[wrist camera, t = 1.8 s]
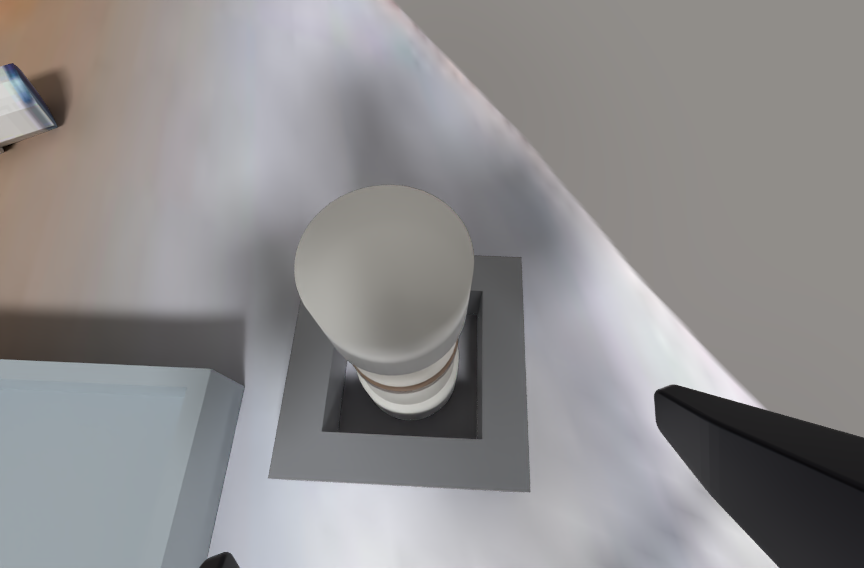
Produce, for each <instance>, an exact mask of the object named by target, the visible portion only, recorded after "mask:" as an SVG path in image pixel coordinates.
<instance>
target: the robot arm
mask: <svg viewBox="0 0 864 568" xmlns="http://www.w3.org/2000/svg"><path fill="white" fill-rule="evenodd" d="M654 402H655V415H656V423H657V426H658V428H659V430H660V432H661V433H662V434H663V436H664V437H665V438H666V439H667V441H668V442H669V443H670V445H671V446H672V447H673V448H674V450H675V451H676V452H677V453H678V455H679V456H680V457H681V459H682V460H683V461H684V462H685V464H686V465H687V466H688V467H689V469H690V470H691V471H692V473H693V474H694V475H695V476H696V478H697V479H698V480H699V481H700V483H701V484H702V485H703V486H704V488H705V489H706V490H707V491H708V492H709V494H710V495H711V496H712V497H713V498H714V499H715V500H716V501H717V502H718V504H719V505H720V506H721V507H722V508H723V509H724V510H725V511H726V512H727V513H728V514H729V515H730V516H731V517H732V518H733V519H734V520H735V522H736V523H737V524H738V525H739V526H740V527H741V528H742V529H743V530H744V531H745V532H746V533H747V534H748V535H749V536H750V537H751V538H752V539H753V540H754V542H755V543H756V544H757V545H758V546H759V547H760V548H761V549H762V550H763V551H764V552H765V553H766V554H767V555H768V556H769V557H770V558H771V559H772V561H773V562H774V563H775V564H776V565H777V566H778V567H779V568H864V438H863V437H860V436H856V435H853V434H849V433H845V432H842V431H838V430H834V429H831V428H828V427H824V426H821V425H817V424H813V423H810V422H806V421H803V420H799V419H796V418H792V417H789V416H785V415H781V414H778V413H774V412H771V411H767V410H764V409H760V408H757V407H753V406H750V405H746V404H742V403H739V402H735V401H732V400H728V399H725V398H721V397H718V396H714V395H710V394H707V393H703V392H700V391H696V390H693V389H689V388H686V387H682V386H678V385H669V386H666V387H663V388H661V389H658V390H657V391H656V392H655V394H654ZM199 568H240V567H239V566H238V564H237V562H236V561H235V559H234V557H233V556H232V555H231V553H229V552H223V553H221V554H218V555H215V556H213V557H210V558H208V559H206V560H205V561H204V562H203V563H202V564H201V566H200V567H199Z"/></svg>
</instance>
